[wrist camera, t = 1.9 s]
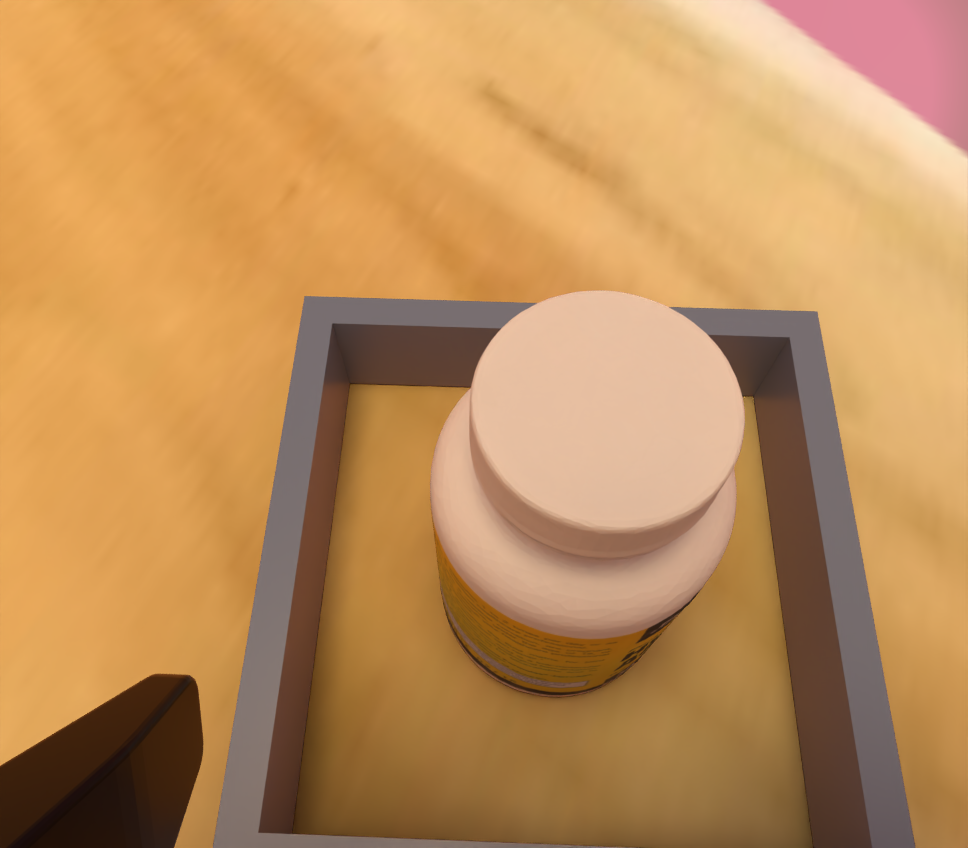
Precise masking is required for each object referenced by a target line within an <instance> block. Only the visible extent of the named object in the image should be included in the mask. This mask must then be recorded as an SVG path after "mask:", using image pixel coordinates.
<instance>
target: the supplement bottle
mask: <svg viewBox="0 0 968 848" xmlns="http://www.w3.org/2000/svg"><path fill="white" fill-rule="evenodd" d="M744 427H745V410H744V403H743V397H742V393H741V390H740V387H739V384H738V381H737V378H736V376H735V374H734V372H733V370H732V368H731V366H730V364H729V362H728V360H727V358H726V357H725V356H724V354H723V353H722V351H721V350H720V348H719V347H718V346H717V345H716V343H715V342H714V341H713V340H712V339H711V338H710V337H709V336H708V335H707V334H706V333H705V332H704V331H703V330H702V329H700V328H699V327H698V326H697V325H696V324H695V323H693V322H692V321H690V320H689V319H688V318H686V317H685V316H683V315H682V314H680V313H678V312H676V311H674V310H673V309H671V308H669V307H667V306H665V305H663V304H660V303H658V302H655V301H653V300H650V299H646V298H643V297H640V296H637V295H633V294H628V293H623V292H616V291H580V292H574V293H568V294H564V295H560V296H556V297H552V298H549V299H547V300H544V301H542V302H540V303H537V304H535V305H533V306H531V307H530V308H528V309H526V310H524V311H522V312H521V313H519V314H518V315H516V316H515V317H514V318H512V319H511V320H510V321H509V322H508V323H507V324H506V325H505V326H503V327H502V328H501V330H500V331H499V332H498V333H497V334H496V335H495V336H494V338H493V339H492V340H491V342H490V343H489V344H488V346H487V348H486V349H485V351H484V353H483V354H482V356H481V358H480V360H479V362H478V365H477V367H476V370H475V373H474V377H473V381H472V385H471V388H470V389H469V390H468V391H467V392H466V393H465V395H464V396H463V397H462V398H461V399H460V400H459V401H458V403H457V404H456V406H455V407H454V409H453V410H452V412H451V413H450V415H449V417H448V418H447V420H446V422H445V424H444V426H443V428H442V431H441V433H440V435H439V438H438V442H437V445H436V448H435V452H434V457H433V462H432V467H431V481H430V502H431V512H432V521H433V528H434V536H435V544H436V553H437V562H438V569H439V579H440V587H441V594H442V599H443V604H444V608H445V612H446V615H447V618H448V621H449V624H450V627H451V629H452V631H453V633H454V635H455V637H456V639H457V640H458V642H459V644H460V645H461V647H462V648H463V650H464V651H465V652H466V653H467V655H468V656H469V657H470V658H471V659H472V661H473V662H474V663H475V664H476V665H477V666H478V667H480V668H481V669H482V670H483V671H484V672H485V673H487V674H488V675H490V676H491V677H493V678H494V679H496V680H497V681H499V682H501V683H503V684H505V685H507V686H509V687H511V688H513V689H516V690H519V691H522V692H526V693H530V694H534V695H540V696H551V697H564V696H572V695H578V694H583V693H586V692H590V691H592V690H595V689H598V688H600V687H602V686H604V685H606V684H608V683H610V682H611V681H613V680H614V679H616V678H617V677H619V676H620V675H622V674H623V673H624V672H625V671H627V670H628V669H629V668H630V667H631V666H632V665H633V664H635V663H636V662H637V661H638V660H639V658H640V657H641V656H642V655H643V654H644V653H645V651H646V650H647V649H648V648H649V647H650V646H651V645H652V644H653V642H654V641H655V640H656V639H657V638H658V637H659V636H660V635H661V634H662V632H663V631H664V630H665V629H666V628H667V627H668V626H669V624H670V623H671V622H672V621H673V620H674V619H675V618H676V617H677V616H678V614H679V613H680V612H681V611H682V610H683V609H684V608H685V607H686V606H687V605H688V604H690V602H691V601H692V600H693V599H694V598H695V597H696V595H697V594H698V592H699V591H700V590H701V589H702V587H703V586H704V584H705V583H706V581H707V580H708V579H709V578H710V576H711V575H712V573H713V572H714V570H715V569H716V568H717V565H718V564H719V562H720V560H721V558H722V556H723V554H724V552H725V550H726V547H727V545H728V542H729V539H730V536H731V533H732V529H733V524H734V519H735V511H736V480H735V472H734V466H735V464H736V462H737V459H738V456H739V454H740V451H741V446H742V442H743V436H744Z"/></svg>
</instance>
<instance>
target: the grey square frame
mask: <svg viewBox="0 0 968 848" xmlns="http://www.w3.org/2000/svg"><path fill="white" fill-rule="evenodd" d="M535 304H537V303H514V302H480V301H447V300H414V299H380V298H347V297H313V296H305V298H304V304H303V310H302V316H301V322H300V328H299V334H298V340H297V346H296V352H295V358H294V364H293V370H292V376H291V382H290V388H289V394H288V400H287V406H286V412H285V418H284V424H283V430H282V436H281V442H280V448H279V454H278V460H277V466H276V472H275V478H274V484H273V490H272V496H271V502H270V508H269V513H268V519H267V525H266V531H265V537H264V543H263V549H262V555H261V561H260V567H259V573H258V579H257V585H256V591H255V597H254V603H253V609H252V615H251V621H250V627H249V633H248V639H247V645H246V651H245V657H244V663H243V669H242V675H241V681H240V687H239V693H238V699H237V705H236V711H235V717H234V723H233V729H232V735H231V741H230V747H229V753H228V759H227V765H226V771H225V777H224V783H223V789H222V795H221V801H220V807H219V813H218V819H217V825H216V831H215V837H214V843H213V848H638V847H613V846H588V845H563V844H538V843H513V842H488V841H464V840H439V839H414V838H389V837H364V836H339V835H314V834H292V830H293V822H294V814H295V806H296V798H297V791H298V783H299V775H300V767H301V759H302V752H303V744H304V736H305V728H306V720H307V713H308V705H309V697H310V689H311V682H312V674H313V666H314V658H315V650H316V643H317V635H318V627H319V619H320V611H321V604H322V596H323V588H324V580H325V572H326V565H327V557H328V549H329V541H330V533H331V526H332V518H333V510H334V502H335V494H336V487H337V479H338V471H339V463H340V455H341V448H342V440H343V432H344V424H345V416H346V409H347V401H348V393H349V385H350V383H359V384H390V385H422V386H454V387H471V385H472V381H473V377H474V373H475V370H476V367H477V365H478V362H479V360H480V358H481V356H482V354H483V353H484V351H485V349H486V348H487V346H488V344H489V343H490V342H491V340H492V339H493V338H494V336H495V335H496V334H497V333H498V332H499V331H500V330H501V328H502V327H503V326H505V325H506V324H507V323H508V322H509V321H510V320H511V319H512V318H514V317H515V316H516V315H518V314H519V313H521V312H522V311H524V310H526V309H528V308H530V307H531V306H533V305H535ZM669 308H671V309H673V310H674V311H676V312H678V313H680V314H682V315H683V316H685V317H686V318H688V319H689V320H690V321H692V322H693V323H695V324H696V325H697V326H698V327H699V328H700V329H702V330H703V331H704V332H705V333H706V334H707V335H708V336H709V337H710V338H711V339H712V340H713V341H714V342H715V343H716V345H717V346H718V347H719V348H720V350H721V351H722V353H723V354H724V356H725V357H726V358H727V360H728V362H729V364H730V366H731V368H732V370H733V372H734V374H735V376H736V378H737V381H738V384H739V387H740V390H741V393H742V396H754V402H755V409H756V417H757V424H758V432H759V439H760V447H761V455H762V462H763V470H764V477H765V485H766V492H767V500H768V507H769V515H770V522H771V530H772V538H773V545H774V553H775V560H776V568H777V575H778V583H779V590H780V598H781V606H782V613H783V621H784V628H785V636H786V643H787V651H788V658H789V666H790V673H791V681H792V689H793V696H794V704H795V711H796V719H797V726H798V734H799V741H800V749H801V756H802V764H803V772H804V779H805V787H806V794H807V802H808V809H809V817H810V824H811V832H812V839H813V847H814V848H915V843H914V837H913V832H912V826H911V821H910V815H909V810H908V804H907V799H906V793H905V788H904V783H903V777H902V772H901V766H900V761H899V755H898V750H897V744H896V739H895V733H894V728H893V723H892V717H891V712H890V706H889V701H888V695H887V690H886V684H885V679H884V673H883V668H882V663H881V657H880V652H879V646H878V641H877V635H876V630H875V624H874V619H873V613H872V608H871V602H870V597H869V592H868V586H867V581H866V575H865V570H864V564H863V559H862V553H861V548H860V542H859V537H858V532H857V526H856V521H855V515H854V510H853V504H852V499H851V493H850V488H849V482H848V477H847V472H846V466H845V461H844V455H843V450H842V444H841V439H840V433H839V428H838V422H837V417H836V411H835V406H834V401H833V395H832V390H831V384H830V379H829V373H828V368H827V362H826V357H825V351H824V346H823V341H822V335H821V330H820V324H819V319H818V313H817V312H814V311H781V310H748V309H714V308H681V307H669Z"/></svg>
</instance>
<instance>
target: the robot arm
mask: <svg viewBox="0 0 968 848" xmlns="http://www.w3.org/2000/svg"><path fill="white" fill-rule="evenodd" d="M202 755H203V733H202V723H201V713H200V703H199V693H198V686H197V684H196V681H195V679H194V678H193V677H191V676H190V675H178V674H154V675H151V676H149V677H147V678H145V679H144V680H142V681H140V682H139V683H137V684H135V685H134V686H132V687H130V688H129V689H127V690H125V691H124V692H122V693H120V694H119V695H117V696H115V697H114V698H112V699H110V700H109V701H107V702H105V703H104V704H102V705H100V706H99V707H97V708H96V709H94V710H92V711H91V712H89V713H87V714H86V715H84V716H82V717H81V718H79V719H77V720H76V721H74V722H72V723H71V724H69V725H67V726H66V727H64V728H62V729H61V730H59V731H57V732H56V733H54V734H52V735H51V736H49V737H47V738H46V739H44V740H42V741H41V742H39V743H37V744H36V745H34V746H32V747H31V748H29V749H27V750H26V751H24V752H23V753H21V754H19V755H18V756H16V757H14V758H13V759H11V760H9V761H8V762H6V763H4V764H3V765H1V766H0V848H174V846H175V843H176V840H177V837H178V834H179V831H180V827H181V824H182V821H183V818H184V815H185V812H186V809H187V806H188V803H189V800H190V797H191V794H192V791H193V787H194V784H195V781H196V778H197V775H198V772H199V769H200V765H201V761H202Z"/></svg>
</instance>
